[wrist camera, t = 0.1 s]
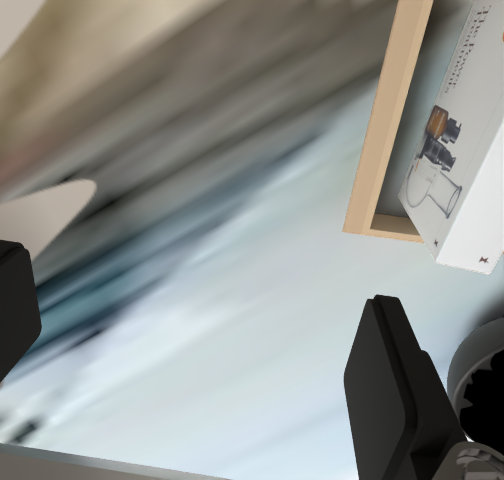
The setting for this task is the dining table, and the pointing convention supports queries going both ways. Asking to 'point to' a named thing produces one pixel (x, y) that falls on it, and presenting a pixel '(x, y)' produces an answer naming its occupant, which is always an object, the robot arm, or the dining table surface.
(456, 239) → the skincare box
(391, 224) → the wooden frame
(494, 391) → the coal bowl
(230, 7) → the dining table surface
